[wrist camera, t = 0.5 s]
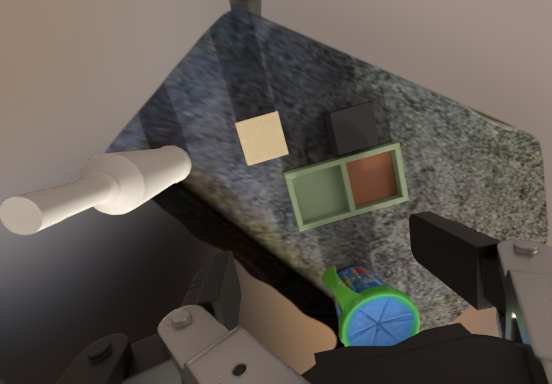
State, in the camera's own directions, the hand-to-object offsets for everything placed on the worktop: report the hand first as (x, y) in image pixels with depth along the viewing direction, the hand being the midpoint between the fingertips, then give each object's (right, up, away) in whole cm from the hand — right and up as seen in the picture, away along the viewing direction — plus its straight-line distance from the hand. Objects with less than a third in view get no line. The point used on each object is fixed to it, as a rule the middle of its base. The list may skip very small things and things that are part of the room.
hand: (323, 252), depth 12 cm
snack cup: (+11, -13, +32) cm, 36 cm away
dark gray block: (+8, +12, +27) cm, 30 cm away
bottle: (-17, +7, +26) cm, 32 cm away
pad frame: (+8, +4, +28) cm, 30 cm away
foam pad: (-4, +10, +26) cm, 28 cm away
